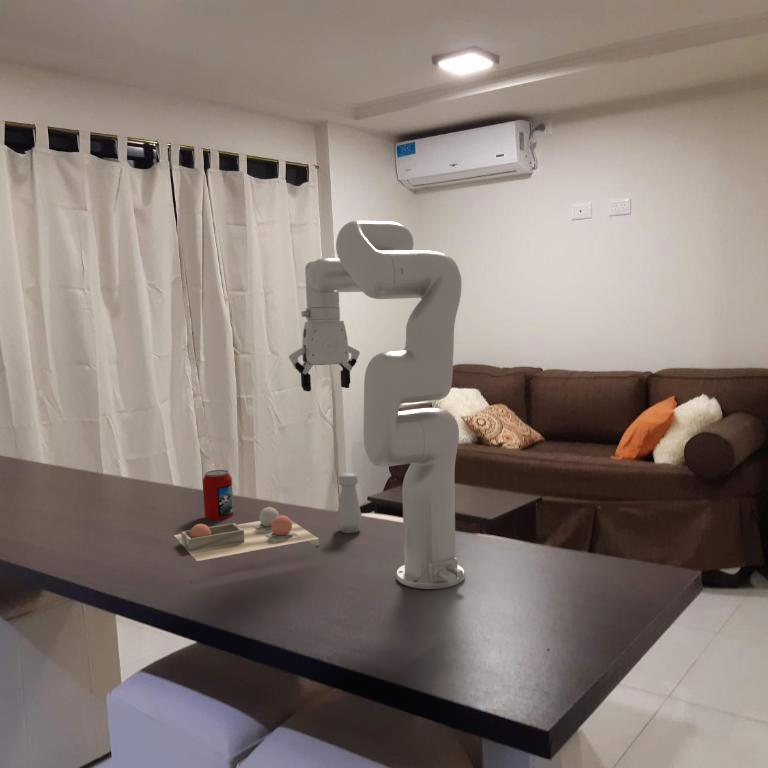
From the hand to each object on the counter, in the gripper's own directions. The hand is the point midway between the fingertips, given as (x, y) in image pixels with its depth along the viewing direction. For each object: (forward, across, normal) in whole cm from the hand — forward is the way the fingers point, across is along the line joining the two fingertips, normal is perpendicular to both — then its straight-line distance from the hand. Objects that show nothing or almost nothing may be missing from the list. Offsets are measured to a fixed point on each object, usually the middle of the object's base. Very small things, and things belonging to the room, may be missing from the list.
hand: (326, 389), depth 179 cm
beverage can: (+31, -23, +14) cm, 41 cm away
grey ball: (+30, -16, -2) cm, 34 cm away
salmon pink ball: (+30, -16, -10) cm, 35 cm away
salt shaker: (+31, 0, -10) cm, 33 cm away
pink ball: (+30, -33, -6) cm, 45 cm away
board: (+31, -23, -6) cm, 39 cm away
